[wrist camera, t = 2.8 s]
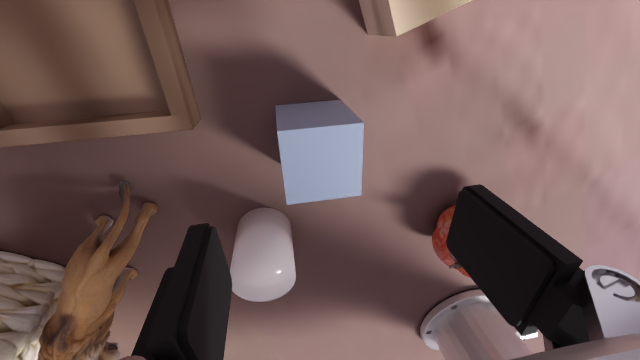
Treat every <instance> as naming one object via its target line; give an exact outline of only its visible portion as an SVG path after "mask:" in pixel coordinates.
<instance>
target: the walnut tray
mask: <svg viewBox="0 0 640 360" xmlns="http://www.w3.org/2000/svg"><path fill="white" fill-rule="evenodd" d="M200 119H201V118H200V115H199V111H198V107H197V104H196V100H195V96H194V93H193V89H192V85H191V82H190V78H189V74H188V71H187V67H186V64H185V60H184V56H183V53H182V49H181V45H180V42H179V38H178V34H177V31H176V27H175V23H174V20H173V16H172V12H171V9H170V5H169V2H168V0H0V147H11V146H22V145H32V144H43V143H54V142H64V141H75V140H86V139H96V138H107V137H118V136H128V135H139V134H150V133H160V132H171V131H182V130H192V129H193V128H194V127H195V126H196V124H197V123H198V122H199V120H200Z"/></svg>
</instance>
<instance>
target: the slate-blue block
mask: <svg viewBox="0 0 640 360" xmlns="http://www.w3.org/2000/svg"><path fill="white" fill-rule="evenodd" d="M275 109H276V124H277V135H278V143H279V150H280V158H281V165H282V173H283V180H284V188H285V195H286V203H287V205H291V204H298V203H306V202H314V201H321V200H329V199H336V198H344V197H352V196H359V195H361V189H362V160H363V132H364V122H363V121H362V120H361V119H360V118H358V117H357V116H356V115H355V114H354V113H353V112H352V111H351V110H350V109H349V108H348V107H347V106H346V105H345V104H344V103H343V102H342V101H341V100H331V101H320V102H308V103H297V104H286V105H275Z"/></svg>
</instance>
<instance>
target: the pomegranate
mask: <svg viewBox="0 0 640 360" xmlns="http://www.w3.org/2000/svg"><path fill="white" fill-rule="evenodd" d="M455 206H456V204H455V205H453V206H451V207H449V208H448V209H446V210H445V211H444V212H443V213H442V214H441V215H440V216H439V218H438V222H437V228H436V229H435V231H434V233H433V236H432V243H433V248H434V251H435V253H436V254H437V256H438V257H439V258H440V260H442V261H443V262H444V263H445V264H446V265H448V266H449V268H455V269H457V270H459V271H460V272H461V273H462V274H463V275H465V276H467V277H470V276H469V275H468V273H467V272H466V271H465V270H464V268H463V267H462V266H461V265H460V263H459V262H458V261H457V260H456V259H455V257H454V256H453V255H452V254H451V252H450V251H449V250H448V248H447V245H446V239H447V235H448V232H449V228H450V224H451V221H452V217H453V213H454V210H455ZM470 278H471V277H470Z"/></svg>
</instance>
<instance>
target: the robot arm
mask: <svg viewBox="0 0 640 360" xmlns="http://www.w3.org/2000/svg"><path fill="white" fill-rule="evenodd" d="M446 245H447V248H448V250H449V251H450V252H451V254H452V255H453V256H454V257H455V259H456V260H457V261H458V262H459V263H460V265H461V266H462V267H463V268H464V270H465V271H466V272H467V273H468V275H469V276H470V277H471V278H472V280H473V281H474V282H475V283H476V285H477V286H478V287H479V288H480V289H478V290H471V291H466V292H463V293H459V294H457V295H455V296H452V297H450V298H448V299H446V300H445V301H443V302H441V303H440V304H439V305H437V306H436V307H435V308H434V309H432V310H431V311H430V312H429V313H428V315H427V316H426V317H425V319H424V320H423V322H422V325H421V328H420V334H421V337H422V339H423V341H424V343H425V344H426V345H427V346H428V347H430V348H432V349H434V350H440V351H441V352H442V354H443V356H444V357H445V359H446V360H640V281H639V280H638V279H636V278H635V277H633V276H632V275H629V274H627V273H625V272H623V271H621V270H618V269H616V268H613V267H609V266H604V265H591V266H588V267H587V268H586V269H585V271H583V270H582V269H580V268H579V266H580V265H581V263H582V262H583V260H581V259H580V258H579V257H577V256H576V255H575V254H573V253H572V252H571V251H569V250H568V249H567V248H565V247H564V246H563V245H561V244H560V243H559V242H557V241H556V240H555V239H553V238H552V237H551V236H549V235H548V234H547V233H545V232H544V231H543V230H541V229H540V228H539V227H537V226H536V225H535V224H533V223H532V222H531V221H529V220H528V219H527V218H525V217H524V216H523V215H521V214H520V213H519V212H517V211H516V210H515V209H513V208H512V207H511V206H509V205H508V204H507V203H505V202H504V201H503V200H501V199H500V198H499V197H497V196H496V195H495V194H493V193H492V192H491V191H489V190H488V189H487V188H485V187H484V186H482V185H472V186H466V187H464V188H463V189H462V191H460V192H459V195H458V199H457V202H456V206H455V210H454V213H453V217H452V221H451V224H450V228H449V232H448V235H447V239H446ZM231 292H232V278H231V274H230V271H229V268H228V265H227V262H226V259H225V256H224V253H223V249H222V246H221V243H220V240H219V237H218V234H217V231H216V228H215V227H214V226H213V227H210V225H209V224H208V223H205V224H198V225H191V226H190V227H189V229H188V231H187V234H186V237H185V240H184V242H183V245H182V248H181V250H180V253H179V256H178V259H177V261H176V264H175V267H172V268H168V269H167V270H166V271H165V273H164V275H163V278H162V280H161V283H160V285H159V288H158V290H157V293H156V295H155V298H154V300H153V303H152V305H151V308H150V310H149V313H148V315H147V318H146V320H145V323H144V325H143V328H142V330H141V333H140V335H139V338H138V340H137V343H136V345H135V348H134V350H133V353H132V355H131V356H127V357H124V358H122V359H119V360H223V357H224V349H225V341H226V333H227V325H228V317H229V308H230V300H231ZM538 329H539V330H540V332H541V333H542V334H543V339H544V347H545V351H544V352H540V353H535V354H533V353H532V352H531V351H530V349H529V348H528V347H527V346H526V344H525V343H524V342H523V341H522V340H527V339H532V338H536V337H537V330H538Z"/></svg>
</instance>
